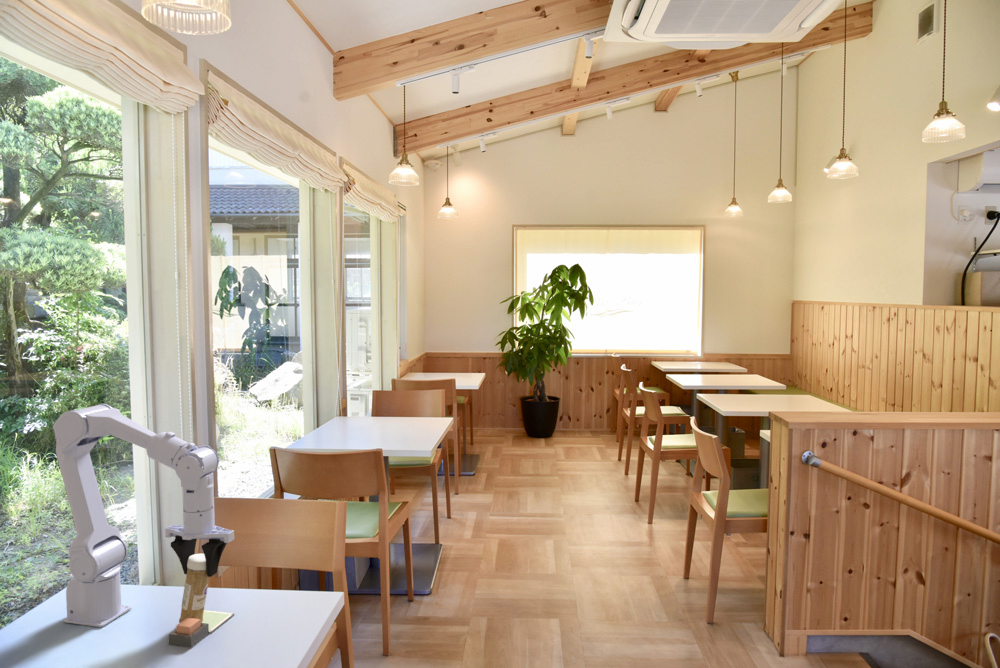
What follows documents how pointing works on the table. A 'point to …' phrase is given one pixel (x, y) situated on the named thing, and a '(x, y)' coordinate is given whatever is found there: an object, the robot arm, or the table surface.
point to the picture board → (215, 619)
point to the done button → (188, 626)
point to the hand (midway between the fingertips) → (200, 573)
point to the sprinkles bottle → (195, 588)
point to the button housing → (188, 637)
